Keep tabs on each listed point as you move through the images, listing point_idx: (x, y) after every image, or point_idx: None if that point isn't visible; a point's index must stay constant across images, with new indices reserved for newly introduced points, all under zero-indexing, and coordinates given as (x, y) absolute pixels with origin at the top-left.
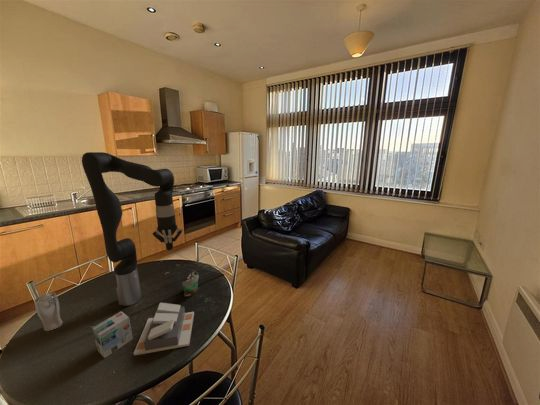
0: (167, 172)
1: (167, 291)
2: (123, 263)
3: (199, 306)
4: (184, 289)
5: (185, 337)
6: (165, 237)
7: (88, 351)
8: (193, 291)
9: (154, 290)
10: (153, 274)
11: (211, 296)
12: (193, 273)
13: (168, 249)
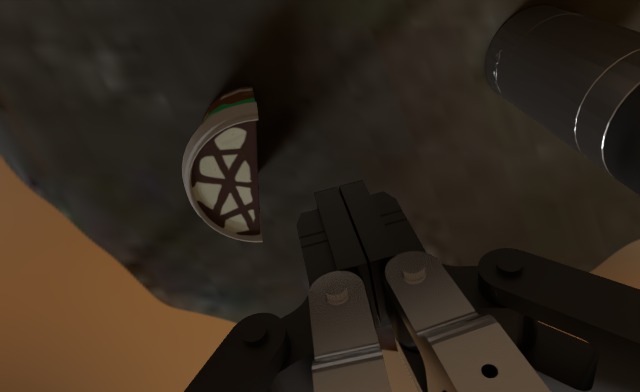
0: None
1: (369, 128)
2: None
3: (124, 8)
4: (249, 101)
5: None
6: (462, 349)
7: None
8: (206, 115)
9: (440, 131)
10: (487, 243)
11: (93, 100)
12: (232, 217)
13: (352, 189)
